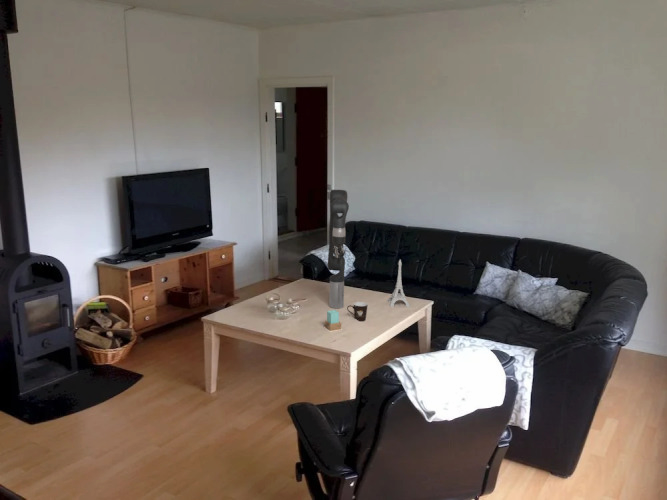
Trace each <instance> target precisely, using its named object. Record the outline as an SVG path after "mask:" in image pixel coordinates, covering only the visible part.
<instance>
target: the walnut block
mask: <svg viewBox="0 0 667 500" xmlns="http://www.w3.org/2000/svg"><path fill="white" fill-rule="evenodd" d="M324 327H325V328H326V329H328V330H329V331H332V332H336V331H335V330H338V331H342V330H341V329H342V322H341V321H339V323H333V324H331V323H329V322H328V321H327V320H324ZM325 328H324V329H325ZM328 330H327V331H328ZM329 331H328V332H329Z"/></svg>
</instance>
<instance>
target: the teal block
mask: <svg viewBox="0 0 667 500" xmlns="http://www.w3.org/2000/svg"><path fill="white" fill-rule="evenodd" d="M339 319H340V312H339V311H337V310H336V309H333V310H327V311H326V321H328V322H329V323H331V324H333V323H339V322H340V320H339Z"/></svg>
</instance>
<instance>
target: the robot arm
mask: <svg viewBox="0 0 667 500" xmlns="http://www.w3.org/2000/svg"><path fill="white" fill-rule="evenodd" d="M349 206H350V205H349V203H348V192H347V190H345V189H331V190H330V193H329V227H328V228H329V231H328V235H329V236H328V254H327V269H328V270H329V271H336V272H337V271H338V272H337V273H335V274H332V275H330V276H329V294H328V296H329V297H328V300H329V301H328V305H329V307H330V308H332V309H342V308H343V307H344V306H345V305H344V304H345V303H344V302H345V301H344V298H345V294H344V293H345V266H346V258H345V257H344V256H345V254H346V250H345V249H344V244H346V219H347V214H348V212H349V208H350V207H349ZM339 214H341V215H340V216H339Z"/></svg>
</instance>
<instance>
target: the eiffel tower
mask: <svg viewBox="0 0 667 500" xmlns="http://www.w3.org/2000/svg"><path fill="white" fill-rule="evenodd" d="M397 265H398V270H397V271H398V272H397V278H396V284H395V288H394V290H393V292H392V293H391V295H390V297H388V299H387V300H386V302H388V303H390V304H389V305H388V306H389V307H390V308H394V307H395V303H396V302H397V301H399V300H400V301H402V302H403V303H404V304H405V307H407V308H409V307H411V305H410V304H409V301H408V300H407V298H406V297H407V296H406V295H405V293H404V290H403V285H402V284H403V283H402V259H399V260H398V263H397Z"/></svg>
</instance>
